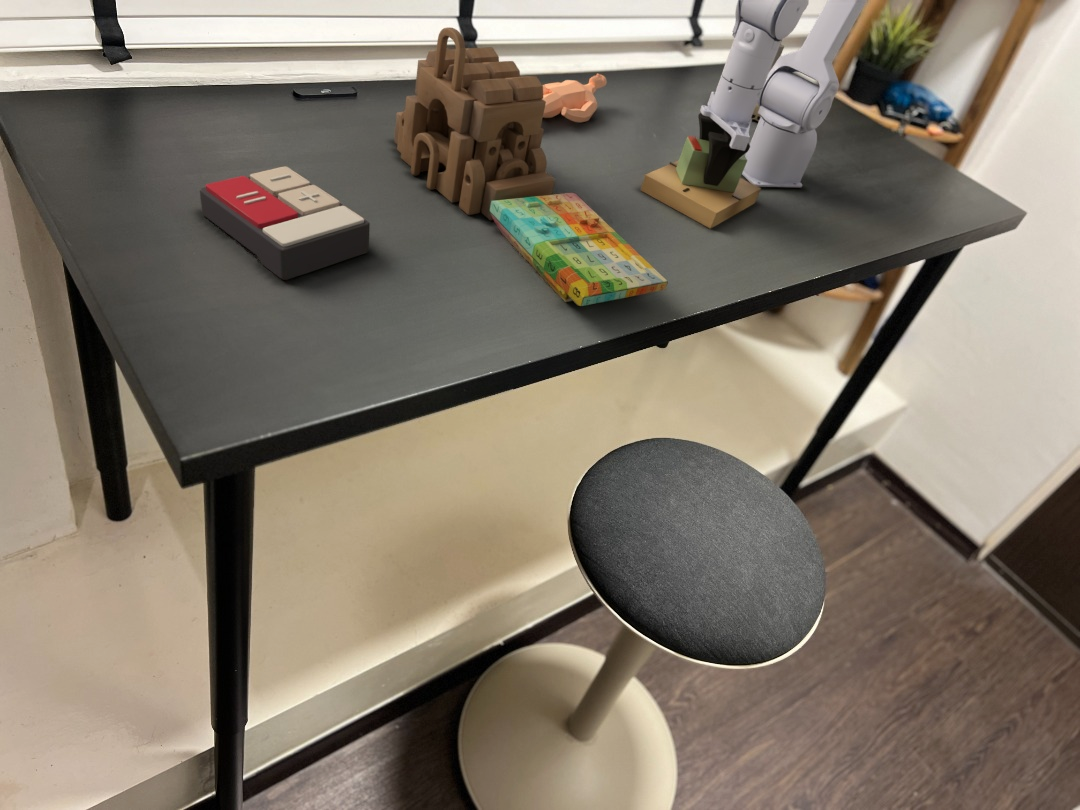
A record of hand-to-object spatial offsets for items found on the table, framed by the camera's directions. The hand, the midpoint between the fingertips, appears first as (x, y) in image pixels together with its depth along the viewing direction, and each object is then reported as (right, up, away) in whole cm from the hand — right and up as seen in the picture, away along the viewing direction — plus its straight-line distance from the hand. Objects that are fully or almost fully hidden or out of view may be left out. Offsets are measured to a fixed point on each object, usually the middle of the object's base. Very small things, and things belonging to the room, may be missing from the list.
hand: (706, 175), depth 112 cm
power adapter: (+22, +35, +51) cm, 65 cm away
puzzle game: (-20, -17, -20) cm, 33 cm away
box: (0, -1, +1) cm, 1 cm away
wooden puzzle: (-34, -2, -8) cm, 35 cm away
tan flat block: (-1, -3, +2) cm, 3 cm away
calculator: (-52, -14, -27) cm, 60 cm away
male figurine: (-23, +14, +14) cm, 30 cm away
